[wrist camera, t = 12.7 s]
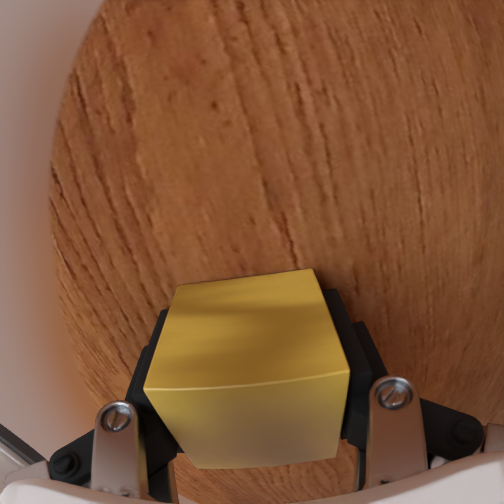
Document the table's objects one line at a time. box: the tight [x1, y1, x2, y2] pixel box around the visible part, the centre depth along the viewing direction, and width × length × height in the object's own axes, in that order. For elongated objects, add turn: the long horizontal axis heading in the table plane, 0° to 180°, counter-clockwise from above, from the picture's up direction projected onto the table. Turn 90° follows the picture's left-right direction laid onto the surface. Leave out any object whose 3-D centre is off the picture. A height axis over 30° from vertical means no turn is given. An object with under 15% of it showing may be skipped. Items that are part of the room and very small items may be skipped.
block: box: [143, 269, 350, 469], centre depth 9 cm, size 4×4×4 cm
